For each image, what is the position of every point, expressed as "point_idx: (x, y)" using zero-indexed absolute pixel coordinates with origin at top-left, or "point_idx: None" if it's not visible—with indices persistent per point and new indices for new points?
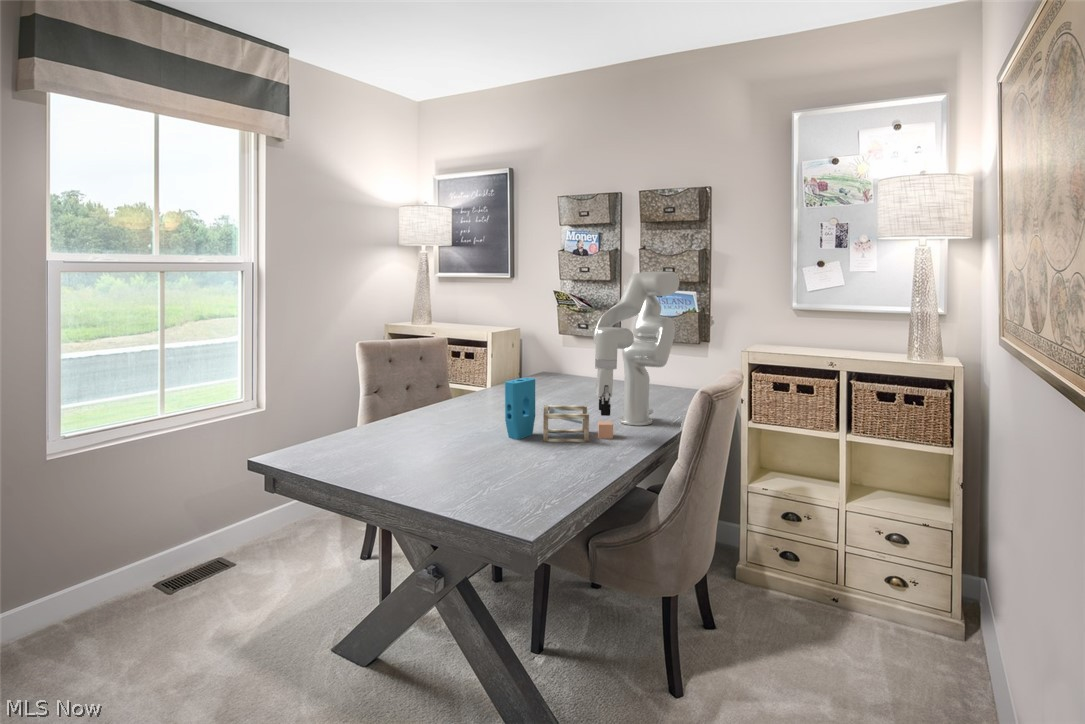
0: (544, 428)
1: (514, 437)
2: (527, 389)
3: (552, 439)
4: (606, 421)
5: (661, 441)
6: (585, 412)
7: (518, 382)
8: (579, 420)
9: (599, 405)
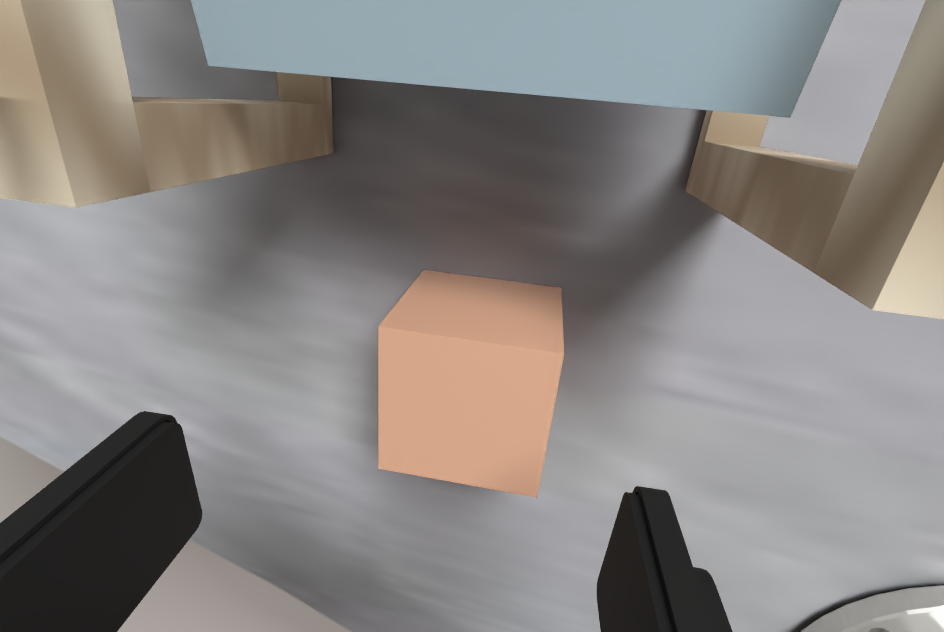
0: None
1: None
2: None
3: None
4: (538, 445)
5: (345, 618)
6: (805, 230)
7: None
8: (234, 10)
9: (645, 566)
